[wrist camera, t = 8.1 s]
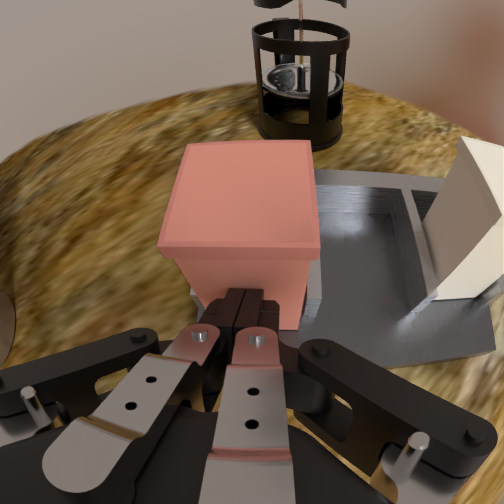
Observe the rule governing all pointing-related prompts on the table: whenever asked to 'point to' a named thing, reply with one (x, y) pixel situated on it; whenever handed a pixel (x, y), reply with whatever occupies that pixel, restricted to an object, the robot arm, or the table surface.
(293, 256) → the pink boxy piece
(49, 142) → the table surface
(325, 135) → the french press
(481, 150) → the white tall block
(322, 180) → the dark grey tray
